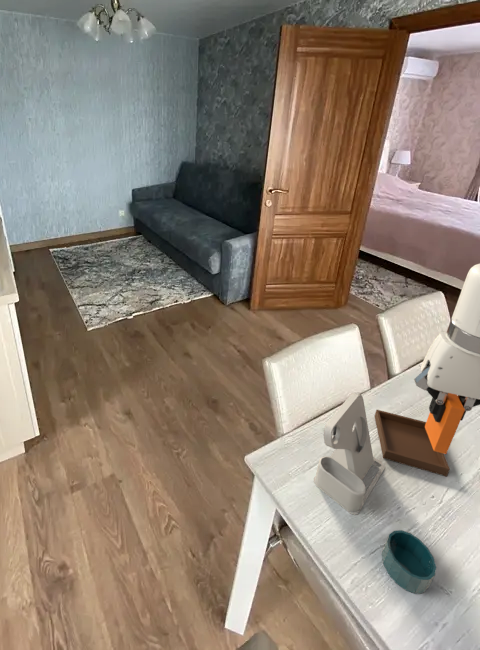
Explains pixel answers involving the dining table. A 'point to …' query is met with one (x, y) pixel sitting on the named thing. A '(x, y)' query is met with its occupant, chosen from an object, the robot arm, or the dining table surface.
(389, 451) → the tray
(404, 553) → the cup
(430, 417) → the block
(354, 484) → the phone holder
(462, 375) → the robot arm
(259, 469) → the dining table surface
